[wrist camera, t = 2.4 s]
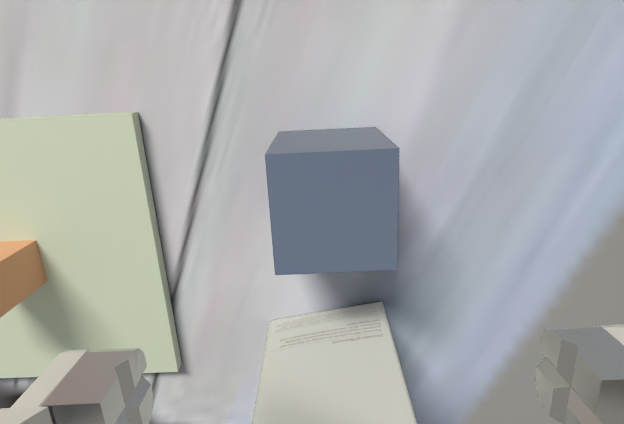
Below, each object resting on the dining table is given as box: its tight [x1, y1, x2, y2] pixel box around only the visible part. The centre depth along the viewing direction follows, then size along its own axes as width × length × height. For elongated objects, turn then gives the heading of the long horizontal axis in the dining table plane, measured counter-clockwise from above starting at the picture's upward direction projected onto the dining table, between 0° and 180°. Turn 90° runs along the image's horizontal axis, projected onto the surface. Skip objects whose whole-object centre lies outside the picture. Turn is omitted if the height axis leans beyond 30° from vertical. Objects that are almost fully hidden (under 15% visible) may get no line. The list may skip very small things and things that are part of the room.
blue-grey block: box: [265, 127, 399, 275], centre depth 20 cm, size 5×5×7 cm
